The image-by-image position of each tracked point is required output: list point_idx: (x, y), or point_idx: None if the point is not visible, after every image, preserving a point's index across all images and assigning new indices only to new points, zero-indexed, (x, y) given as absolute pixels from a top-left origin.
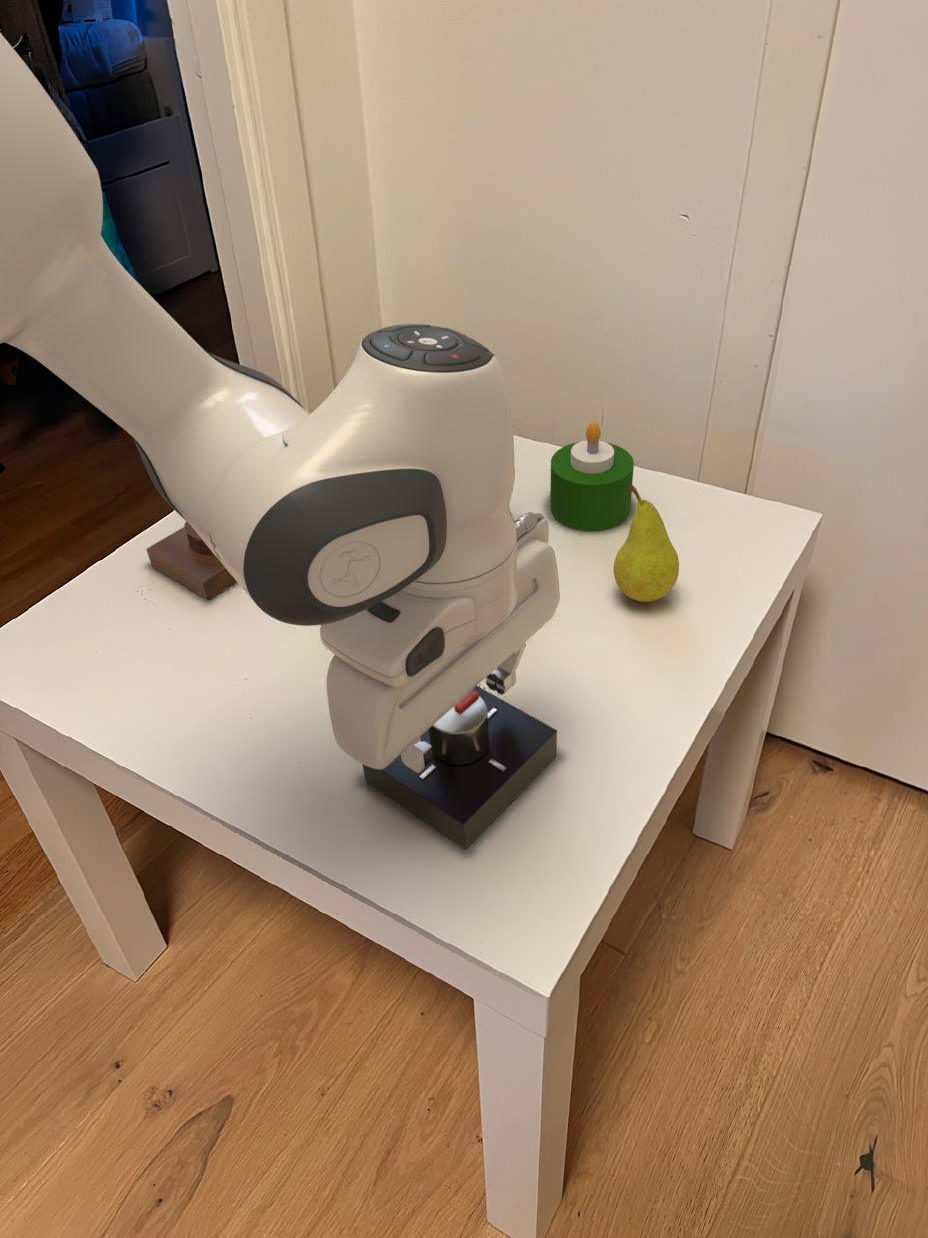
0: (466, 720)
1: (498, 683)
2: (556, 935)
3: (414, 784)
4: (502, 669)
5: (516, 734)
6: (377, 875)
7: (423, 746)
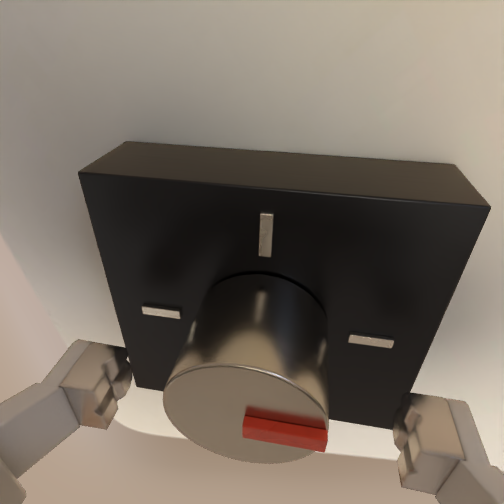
0: (232, 440)
1: (401, 452)
2: (159, 426)
3: (125, 304)
4: (446, 480)
5: (345, 389)
6: (45, 268)
7: (88, 419)
